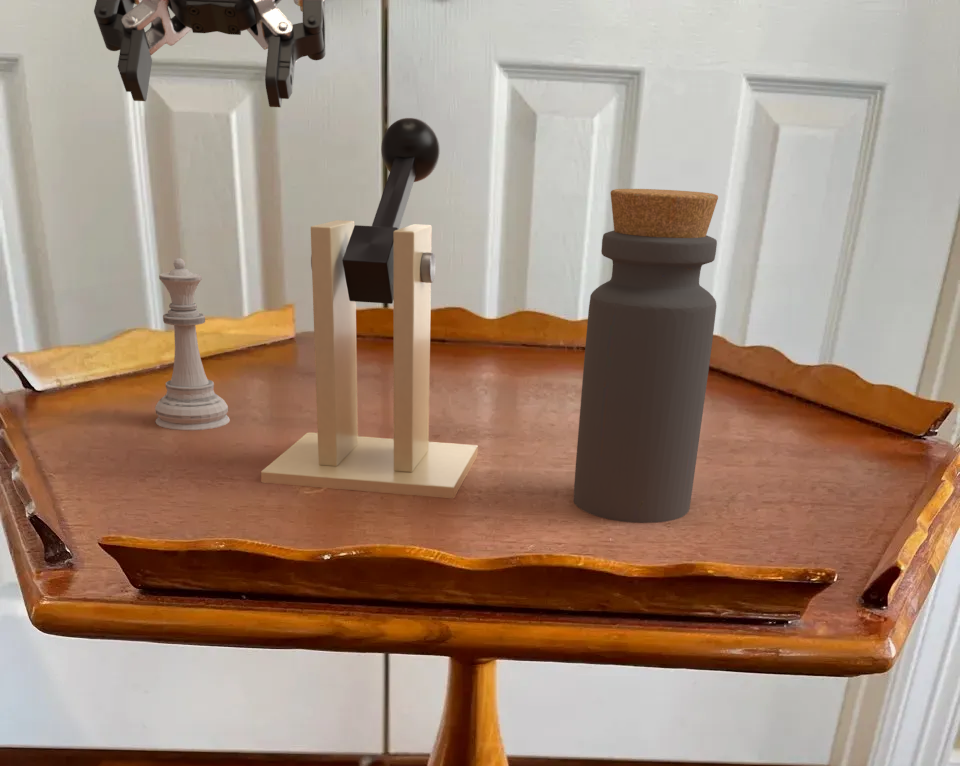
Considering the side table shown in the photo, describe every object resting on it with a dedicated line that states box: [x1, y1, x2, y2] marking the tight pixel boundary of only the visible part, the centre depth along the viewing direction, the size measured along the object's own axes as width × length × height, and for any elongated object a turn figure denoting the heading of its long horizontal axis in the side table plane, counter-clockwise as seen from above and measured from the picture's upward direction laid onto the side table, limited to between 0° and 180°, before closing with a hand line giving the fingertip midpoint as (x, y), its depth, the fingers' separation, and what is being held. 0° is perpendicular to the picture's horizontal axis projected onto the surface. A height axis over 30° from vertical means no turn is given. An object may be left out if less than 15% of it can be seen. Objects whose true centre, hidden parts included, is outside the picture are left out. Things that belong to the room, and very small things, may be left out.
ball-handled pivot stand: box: [260, 219, 479, 499], centre depth 53 cm, size 8×10×13 cm
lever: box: [342, 117, 441, 305], centre depth 53 cm, size 13×3×3 cm, turn 171°
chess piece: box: [154, 257, 231, 431], centre depth 61 cm, size 4×4×10 cm
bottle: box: [572, 188, 719, 524], centre depth 48 cm, size 6×6×15 cm
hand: (204, 93), depth 64 cm, fingers open, 8 cm apart
